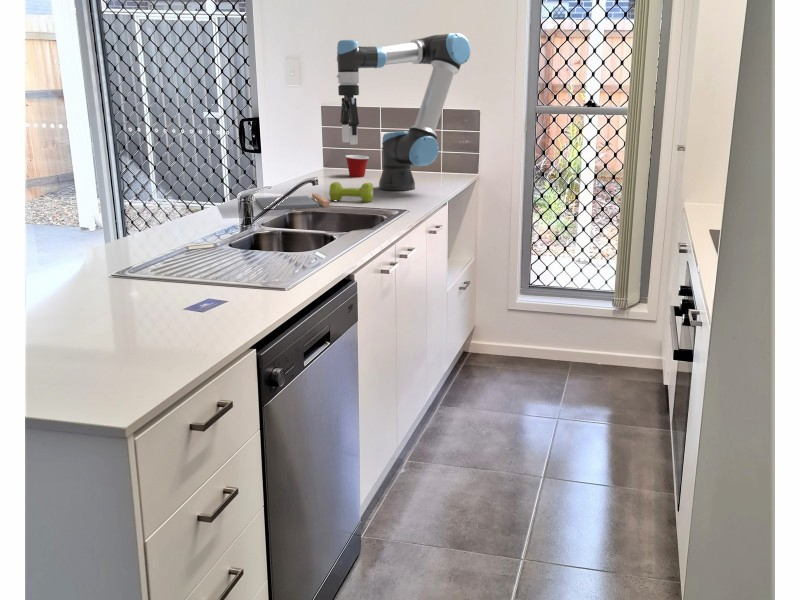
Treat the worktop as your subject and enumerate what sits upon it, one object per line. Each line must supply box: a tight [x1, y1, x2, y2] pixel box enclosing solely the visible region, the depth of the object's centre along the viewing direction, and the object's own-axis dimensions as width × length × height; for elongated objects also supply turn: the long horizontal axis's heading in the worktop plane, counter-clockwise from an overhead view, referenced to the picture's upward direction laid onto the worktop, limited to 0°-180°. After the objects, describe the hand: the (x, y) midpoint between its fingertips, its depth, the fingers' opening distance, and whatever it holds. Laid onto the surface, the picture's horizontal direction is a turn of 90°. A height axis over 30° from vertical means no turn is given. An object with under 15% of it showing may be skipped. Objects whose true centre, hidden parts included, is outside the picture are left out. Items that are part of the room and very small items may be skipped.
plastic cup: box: [345, 154, 370, 179], centre depth 358 cm, size 11×11×12 cm
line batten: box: [311, 192, 330, 208], centre depth 295 cm, size 2×24×2 cm, turn 16°
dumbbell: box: [328, 181, 374, 203], centre depth 298 cm, size 16×8×7 cm, turn 77°
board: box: [254, 195, 320, 210], centre depth 292 cm, size 20×24×1 cm
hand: (349, 143), depth 293 cm, fingers open, 13 cm apart
